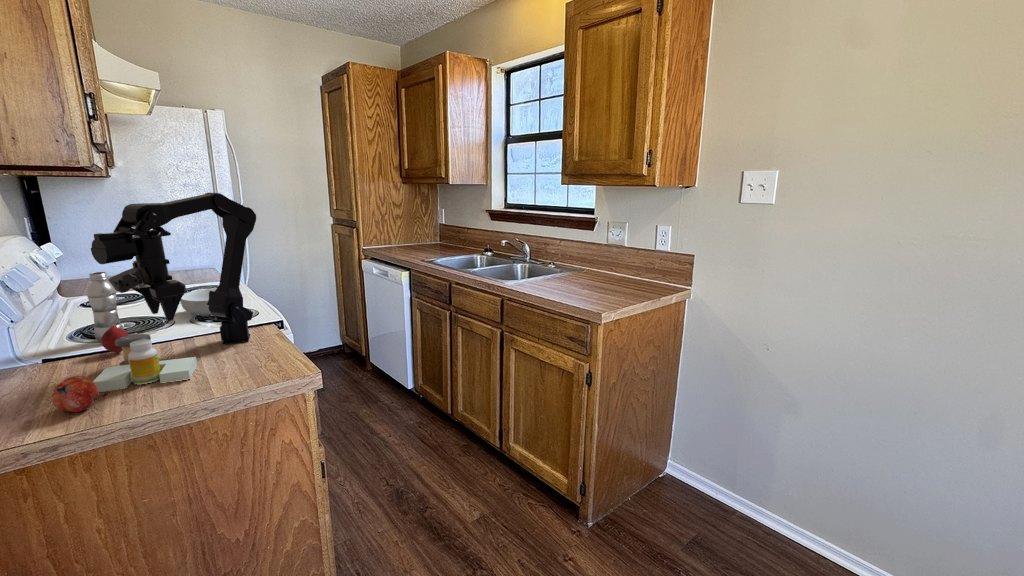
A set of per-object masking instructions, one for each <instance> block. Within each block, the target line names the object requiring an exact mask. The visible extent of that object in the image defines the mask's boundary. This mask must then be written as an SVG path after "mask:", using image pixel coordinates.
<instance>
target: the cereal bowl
mask: <svg viewBox="0 0 1024 576" xmlns="http://www.w3.org/2000/svg"><path fill="white" fill-rule="evenodd" d="M217 288H218V287H214V288H212V287H211V288H204V289H197V290H193V291H189V292H186V293H184V295H183V296H182V298H181V300H180V304H181V307H182V309H183V310H185V311H186V312H188V313H189V314H194V315H198V316H199V317H200V316H201V317H210V316H209V315H213V314H212V313H211V312H210V311H209V305H207V303H208V300H209V292H210V291H215V290H216V289H217Z"/></svg>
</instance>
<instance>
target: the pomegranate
mask: <svg viewBox="0 0 1024 576" xmlns="http://www.w3.org/2000/svg"><path fill="white" fill-rule="evenodd" d="M93 381H94V380H92V379H90V378H89V377H87V376H84V375H75V376H74V375H73V376H70V377H67V378H65V379H64V380H63V381H62V382H60V383H58V384H56V385H55V386H54V389H53V392H52V393H53V394H52V395H51V402H52V404H53V406H54V407H55V408H56V409H58V410H59V411H62V412H68V411H69V412H72V413H80V412H83V410H84V411H87V410H88V409H89V408H91V407H92V406H93V405H94V403H95V402H94V400H95V401H98V400H97V399H98V398H97V397H98V396H99V394H100V392H99V390H98V388H97V386H96V385H95V383H94V382H93ZM87 408H88V409H87ZM86 409H87V410H86Z"/></svg>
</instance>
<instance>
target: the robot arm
mask: <svg viewBox="0 0 1024 576" xmlns="http://www.w3.org/2000/svg"><path fill="white" fill-rule="evenodd" d="M209 210H211V211H212V212H213V213H214V214H215V215H216V216H218V217H220V218H221V219H222V220H221V222H222V227H223V231H224V233H225V235H226V236H225V244H224V250H223V251H224V252H223V257H222V263H221V272H220V279H219V285H218V286H217V287H216V288H217V289H216V290H215V291H210V292H209V300H208V303H207V305H209V311H210V312H211V313H212V314H213V315H214V316H213V317H215V320H217V321H221V322H220V323H221V325H220V326H219V333H220V339H221V340H220V341H221V342H222V345H230V344H238V343H239V344H240V343H241V344H242V343H248V342H249V340H250V337H251V333H250V329H249V323H248V321H249V322H250V321H251V320H252V318H253V312H252V311H251V310H249V309H248V308H246V307H245V306H244V297H243V294H242V292H241V289H240V284H241V283H240V282H241V278H242V277H241V275H242V270H243V264H244V263H243V262H244V256H245V250H246V243H247V239H248V238H249V236H250V235H251V234H252V232H253V231H254V229H255V228H254V227H255V225H256V221H257V213H256V212H255V211H254V210H253V209H252V208H251V207H248V206H244V205H243V204H241V203H239V202H237V201H234V200H233V199H230V198H229V197H227V196H225V195H224V194H222V193H220V192H206V193H203V194H199V195H196V196H190V197H185V198H181V199H176V200H175V199H174V200H170V201H166V202H161V203H160V202H153V203H152V202H151V203H149V202H148V203H145V202H142V203H130V204H128V205H127V204H126V205H125V206H124V208H123V210H122V212H121V217H120V220H119V221H118V223H117V224H116V226H115V228H114V229H113V232H108V233H106V232H105V233H103V232H100V233H99V232H97V233H94V234H93V238H94V239H93V240H92V241H91V248H90V252H91V255H92V257H93V259H94V261H96V263H98V264H100V265H106V264H113V263H119V262H124V261H125V262H126V261H130V260H132V259H134V258H135V260H133V262H131V263H132V268H129V269H127V270H125V271H122V272H120V273H118V274H115V275H113V276H111V277H109V278H108V279H107V281H108V282H109V283H110V284H112V286H113V287H114V288H115V290H116V292H119V293H120V294H124V293H126V292H127V293H128V292H129V291H130V290H133V291H135V292H137V293H139V294H140V295H141V296H142V298H143V299H144V301H145V303H146V305H147V307H148V308H149V310H150V312H151V313H152V315H156V314H158V313H159V310H160V306H161V309H162V311H163V314H164V316H165V319H166V321H168V322H171V321H174V318H175V316H176V313H177V310H178V308H179V305H180V304H181V302H180V300H181V298H182V296H183V295H184V294H186V293H187V287H186V284H184V283H183V282H181V281H179V280H177V279H174V278H173V275H172V274H171V275H170V274H169V270H168V269H169V268H168V265H170V259H168V258H166V253H165V250H164V249H165V248H164V243H163V237H169V236H171V235H172V233H171V232H170V231H168V230H166V229H165V228H164V227H163V226H164V225H166V224H169V222H171V221H173V220H174V219H177V218H180V217H185V216H188V215H192V214H197V213H201V212H205V211H209Z"/></svg>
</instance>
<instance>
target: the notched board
mask: <svg viewBox="0 0 1024 576" xmlns="http://www.w3.org/2000/svg"><path fill="white" fill-rule="evenodd" d="M197 361H198V360H197V357H196V356H191V357H184V358H183V357H182V358H175V359H165V360H159V365H160V371H161V372H160V374H159V377H160V380H159V381H160V384H161V383H163V382H170V381H176V380H183V379H190V377H191V376H192V377H193V375H194V374H193V372H194V370H195V369H197V368H198V362H197ZM196 367H197V368H196ZM195 371H196V370H195ZM194 373H195V372H194ZM192 374H193V375H192ZM192 377H191V378H192ZM190 380H191V379H190ZM92 381H93V382H94V383H95V385H96V386H97V388H98V390H99V393H105V392H111V391H118V390H119V389H120V390H125V388H126V389H128V387H129V386H128V385H130V384H131V383H132V382H133V381H132V375H131V370H130V365H122V366H120V365H117V366H115V365H113V366H107V367H105V368H104V370H103V371H101V373H100V374H99V375H98V376H96V378H94V380H92ZM131 381H132V382H131ZM127 386H128V387H127Z"/></svg>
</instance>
